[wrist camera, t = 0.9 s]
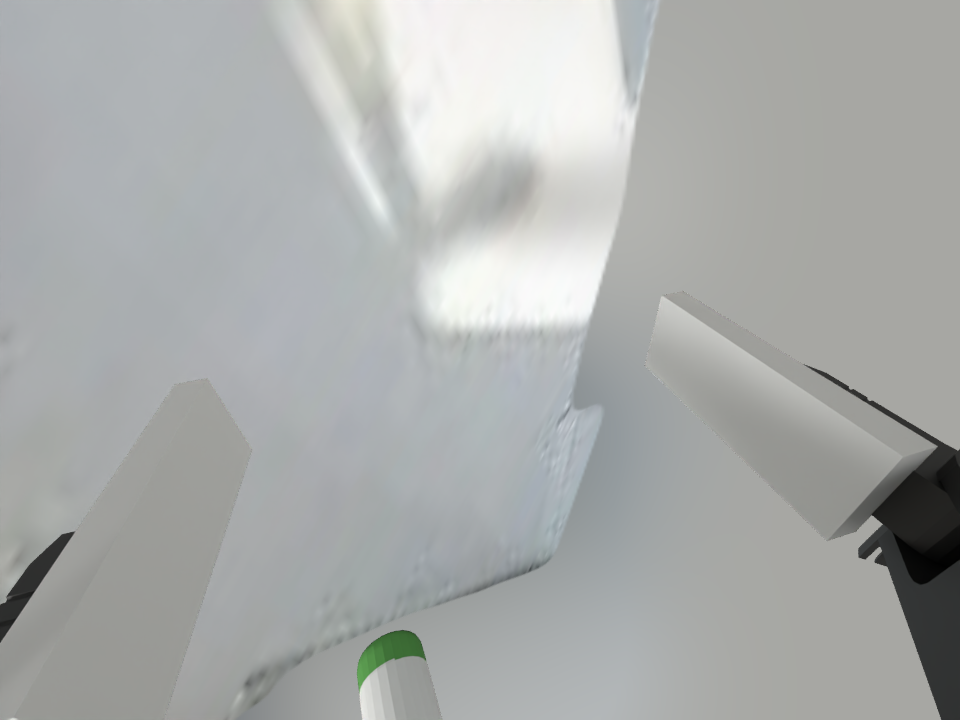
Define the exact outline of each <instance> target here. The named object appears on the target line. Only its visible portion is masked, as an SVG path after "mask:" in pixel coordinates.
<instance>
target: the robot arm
mask: <svg viewBox="0 0 960 720" xmlns="http://www.w3.org/2000/svg"><path fill="white" fill-rule="evenodd" d="M645 366H646V367H647V368H648V369H649V370H650V371H651V372H652V373H653V374H654V375H655V376H656V377H657V378H658V379H659V380H660V381H661V382H662V383H663V384H664V385H665V386H666V387H667V388H668V389H669V390H670V391H671V392H673V393H674V394H675V395H676V396H677V397H678V398H679V399H680V400H681V401H682V402H683V403H684V404H685V405H686V406H687V407H688V408H689V409H690V410H691V411H692V412H693V413H694V414H695V415H696V416H697V417H698V418H700V419H701V420H702V421H703V422H704V423H705V424H706V425H707V426H708V427H709V428H710V429H711V430H712V431H713V432H714V433H715V434H716V435H717V436H718V437H719V438H720V439H721V440H722V441H723V442H724V443H726V444H727V445H728V446H729V447H730V448H731V449H732V450H733V451H734V452H735V453H736V454H737V455H738V456H739V457H740V458H741V459H742V460H743V461H744V462H745V463H746V464H747V465H748V466H749V467H750V468H751V469H753V470H754V471H755V472H756V473H757V474H758V475H759V476H760V477H761V478H762V479H763V480H764V481H765V482H766V483H767V484H768V485H769V486H770V487H771V488H772V489H773V490H774V491H775V492H776V493H777V494H778V495H780V496H781V497H782V498H783V499H784V500H785V501H786V502H787V503H788V504H789V505H790V506H791V507H792V508H793V509H794V510H795V511H796V512H797V513H798V514H799V515H800V516H801V517H802V518H803V519H805V521H807V522H808V523H809V524H810V525H811V526H812V527H813V528H814V529H815V530H816V531H817V532H818V533H819V534H820V535H821V536H822V537H823V538H824V539H825V540H826V541H828V540H831V539H834V538H837V537H841V536H844V535H846V534H850V533H853V532H856V531H857V530H858V529H859V527H860V526H861V525H862V524H863V523H864V522H865V521H866V520H867V519H868V518H869V517H870V516H871V515H872V516H874V517H875V518H876V519H877V520H879V521H880V522H881V523H882V524H883V525H882V526H881V527H880V528H879V529H878V530H876V531H875V532H874V534H872V535H871V536H870V537H869V538H868V539H867V540H866V541H865V542H864V543H863V544H862V545H861V546H860V547H859V550H858V554H859V558H862V559H866V558H867V557H868V556H869V555H871V554H872V553H873V552H874V551H875V550H876V549H877V548H878V547H881V549H882V552H881V553H880V554H879V555H878V556H877V557H876V559H875V563H877V564H881V565H884V566H887V567H888V569H889V572H890V575H891V578H892V581H893V584H894V586H895V589H896V592H897V595H898V598H899V601H900V603H901V606H902V609H903V612H904V615H905V618H906V620H907V623H908V626H909V629H910V632H911V635H912V638H913V640H914V643H915V646H916V649H917V652H918V654H919V657H920V660H921V663H922V666H923V669H924V672H925V674H926V677H927V680H928V683H929V686H930V688H931V691H932V694H933V697H934V700H935V703H936V705H937V709H938V711H939V714H940V717H941V720H960V450H959V451H957V450H955V449H954V448H952V447H950V446H948V445H946V444H944V443H943V442H941V441H939V440H938V439H936V438H934V437H933V436H931V435H929V434H927V433H926V432H924V431H922V430H921V429H919V428H917V427H916V426H914V425H912V424H911V423H909V422H907V421H906V420H904V419H902V418H901V417H899V416H897V415H896V414H894V413H892V412H891V411H889V410H887V409H885V408H884V407H882V406H881V405H879V404H877V403H876V402H874V401H868V399H867V397H866V396H864V395H862V394H861V393H859V392H857V391H856V390H854V389H852V390H850V389H849V386H847V385H845V384H844V383H842V382H840V381H839V380H837V379H835V378H834V377H832V376H830V375H829V374H827V373H825V372H822V371H820V370H817V369H814V368H812V367H809V366H807V365H804V364H802V363H800V362H798V361H797V360H795V359H793V358H792V357H790V356H789V355H787V354H785V353H784V352H782V351H780V350H779V349H777V348H775V347H774V346H772V345H770V344H769V343H767V342H766V341H764V340H762V339H761V338H759V337H757V336H756V335H754V334H752V333H751V332H749V331H747V330H746V329H744V328H743V327H741V326H739V325H738V324H736V323H734V322H733V321H731V320H729V319H728V318H726V317H724V316H722V315H721V314H719V313H718V312H716V311H715V310H713V309H711V308H710V307H708V306H707V305H705V304H703V303H702V302H700V301H698V300H697V299H695V298H693V297H692V296H690V295H688V294H687V293H685V292H677V293H672V294H666V295H662V297H661V301H660V305H659V309H658V313H657V317H656V321H655V326H654V329H653V334H652V338H651V342H650V346H649V350H648V354H647V359H646V362H645ZM251 452H252V448H251V447H250V445H249V444H248V442H247V440H246V439H245V437H244V436H243V434H242V432H241V431H240V429H239V428H238V426H237V424H236V423H235V421H234V420H233V418H232V417H231V415H230V413H229V412H228V410H227V409H226V407H225V405H224V404H223V402H222V401H221V399H220V397H219V396H218V394H217V393H216V391H215V389H214V388H213V386H212V385H211V383H210V381H209V380H208V378H206V379H201V380H195V381H190V382H184V383H179V384H175V385H174V386H173V388H172V389H171V391H170V392H169V394H168V395H167V397H166V398H165V400H164V401H163V403H162V404H161V405H160V407H159V408H158V410H157V411H156V413H155V414H154V416H153V417H152V419H151V420H150V422H149V423H148V425H147V426H146V428H145V429H144V431H143V432H142V434H141V435H140V437H139V438H138V440H137V441H136V443H135V444H134V446H133V447H132V448H131V450H130V451H129V453H128V454H127V456H126V457H125V459H124V460H123V462H122V463H121V465H120V466H119V468H118V469H117V471H116V472H115V474H114V475H113V477H112V478H111V480H110V481H109V483H108V484H107V486H106V487H105V489H104V490H103V492H102V493H101V494H100V496H99V497H98V499H97V500H96V502H95V503H94V505H93V506H92V508H91V509H90V511H89V512H88V514H87V515H86V517H85V518H84V520H83V521H82V523H81V524H80V526H79V527H78V529H77V530H76V531H75V532H70V533H66V534H62V535H61V536H60V537H59V538H58V539H57V540H56V541H54V542H53V543H52V544H51V545H50V546H49V547H48V548H47V549H46V550H45V551H44V552H43V553H42V554H40V555H39V556H38V557H37V558H36V559H35V560H34V561H33V562H32V563H31V564H30V565H29V566H28V568H27V569H26V570H25V572H24V573H23V575H22V576H21V577H20V579H19V580H18V581H17V583H16V584H15V586H14V587H13V588H12V590H11V591H10V592H9V594H8V595H7V597H6V598H7V601H6V603H3V604H1V605H0V720H164V718H165V715H166V712H167V709H168V706H169V703H170V700H171V697H172V694H173V691H174V688H175V684H176V681H177V678H178V675H179V672H180V669H181V666H182V663H183V660H184V657H185V654H186V651H187V648H188V645H189V642H190V639H191V636H192V633H193V629H194V626H195V623H196V620H197V617H198V614H199V611H200V608H201V605H202V602H203V599H204V596H205V593H206V590H207V587H208V584H209V581H210V578H211V575H212V571H213V568H214V565H215V562H216V559H217V556H218V553H219V550H220V547H221V544H222V541H223V538H224V535H225V532H226V529H227V526H228V523H229V520H230V517H231V513H232V510H233V507H234V504H235V501H236V498H237V495H238V492H239V489H240V486H241V483H242V480H243V477H244V474H245V471H246V468H247V465H248V462H249V459H250V455H251Z"/></svg>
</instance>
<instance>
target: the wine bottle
mask: <svg viewBox="0 0 960 720" xmlns="http://www.w3.org/2000/svg"><path fill="white" fill-rule="evenodd" d="M357 678H358V686H359V694H360V695H359V697H360V704H361V713H362V720H442V716H441V712H440V709H439V705H438V701H437V698H436V694H435V690H434V687H433V683H432V679H431V676H430V672H429V668H428V665H427V662H426V658H425V654H424V651H423V647H422V644H421V641H420V640H419V638H418V637H417V636H416V635H415V634H414V633H412V632H410V631H404V630H401V631H394V632H390V633H388V634H385V635H383V636H381V637H380V638H378V639H377V640H375V641H374V642H372V643H371V644H370V645H369V646H368V647H367V648H366V650H365V651H364V652H363V653H362V655H361V657H360V660H359V663H358V669H357Z"/></svg>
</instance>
